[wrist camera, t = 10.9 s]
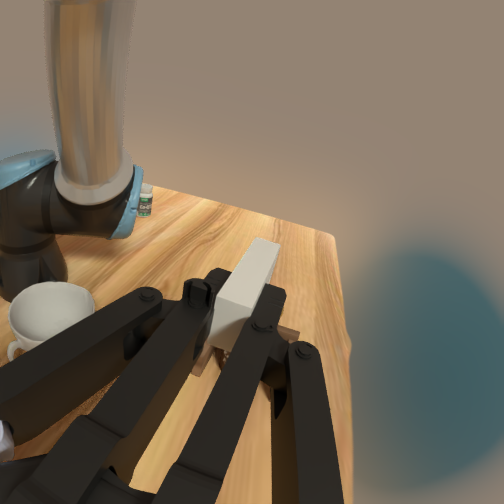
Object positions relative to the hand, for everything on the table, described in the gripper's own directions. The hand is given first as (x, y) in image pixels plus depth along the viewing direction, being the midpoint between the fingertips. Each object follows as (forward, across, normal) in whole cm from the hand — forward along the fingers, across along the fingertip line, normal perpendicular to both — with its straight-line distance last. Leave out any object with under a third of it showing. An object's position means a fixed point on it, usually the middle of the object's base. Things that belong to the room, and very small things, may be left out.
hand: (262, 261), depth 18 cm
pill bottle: (+54, -41, -27) cm, 73 cm away
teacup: (+2, -24, -26) cm, 36 cm away
